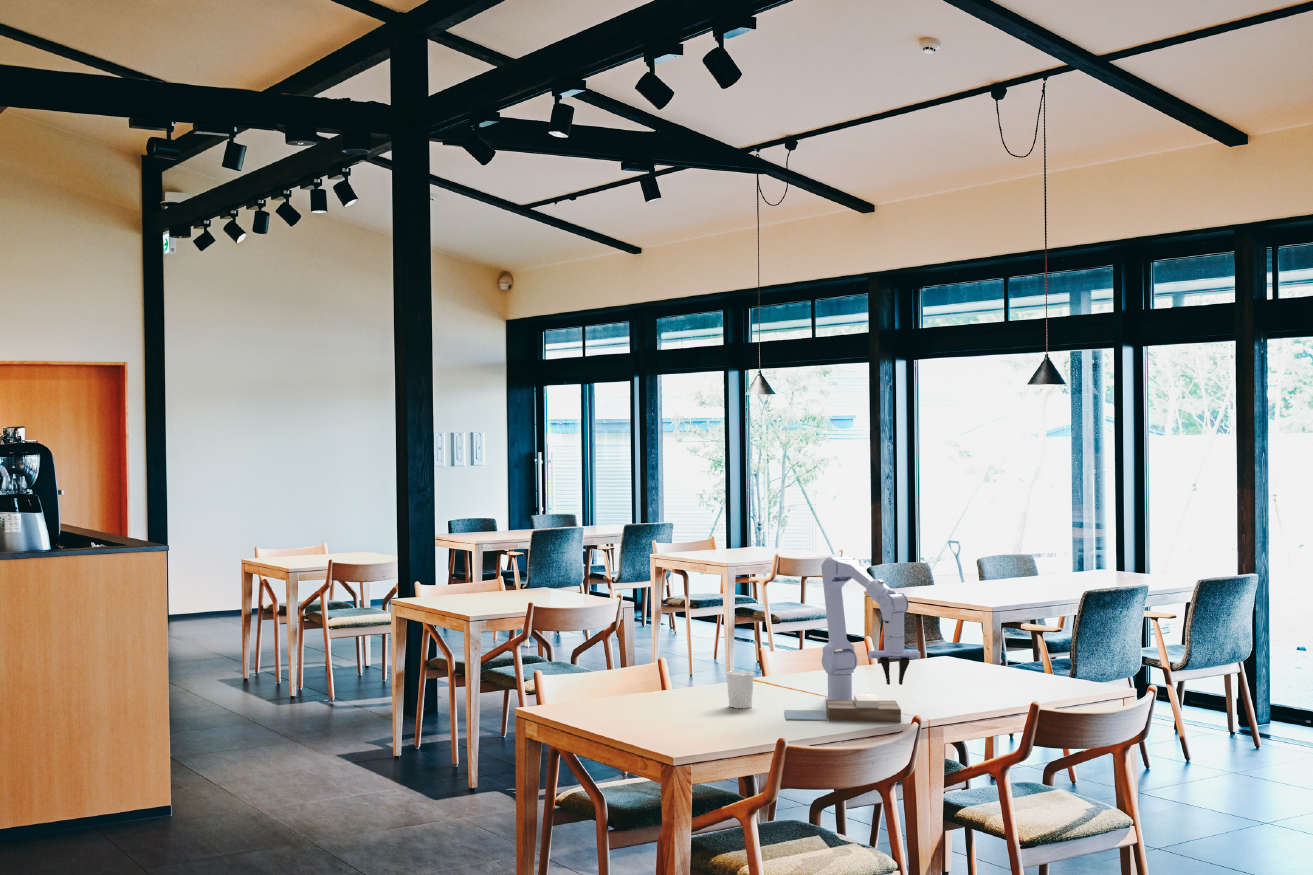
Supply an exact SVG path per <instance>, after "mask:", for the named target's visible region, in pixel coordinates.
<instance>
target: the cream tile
mask: <svg viewBox="0 0 1313 875" xmlns="http://www.w3.org/2000/svg"><path fill="white" fill-rule="evenodd" d="M853 700H854V702H855V704H856V706H857V708H879V701H880V700H879V698H878V697H877V695H876V694H869V693H867V694H863V693H862V694H860V693H859V694H858V693H857V694H856V693H854V695H853Z"/></svg>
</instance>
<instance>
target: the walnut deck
mask: <svg viewBox="0 0 1313 875" xmlns="http://www.w3.org/2000/svg"><path fill="white" fill-rule="evenodd" d="M878 701H879V708H857V706H856V704H855V702H854V699H853V700H826V699H825V714H826V717H827V721H828V722H872V723H873V722H874V723H875V722H877V723H878V722H883V723H885V722H887V723H890V722H891V723H895V722H896V723H897V722H898V723H902V709H901V707H900V706H899V704H898V702H897V701H896V700H878Z"/></svg>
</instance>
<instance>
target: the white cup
mask: <svg viewBox="0 0 1313 875" xmlns="http://www.w3.org/2000/svg"><path fill="white" fill-rule="evenodd" d="M726 680H727V697H728V705H729V706H730V707H729V706H728V707H729V708H731V707H734V708H733V709H738V708H740V709H739V710H741V708H743V710H744V709H750V708H752V703H753V701H752V700H753V690H754V672H753V671H748V670H732V671H731V670H730V671H727V672H726Z"/></svg>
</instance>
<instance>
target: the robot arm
mask: <svg viewBox="0 0 1313 875" xmlns="http://www.w3.org/2000/svg"><path fill="white" fill-rule="evenodd" d="M820 566H821V567H820V568H821V575H822V584H823V594H824V595H823V596H824V603H825V604H824V605H825V612H826V621H827V623H826V624H827V632H828V642H827V643H826V644H824V646H823V647H822V656H821V665H822V669H824V671H825V673H826V674H827V696H825V698H824V699H825V701H826V700H854V698H853V697H852V696H853V691H852V690H853V687H852V686H853V685H852V684H853V677H852V675H853V673H854V672H855V671H854V670H855V669H856V668H857V666H858V655H857V654H856V650H855V645H854V644H853V643H851V642H850V641H849V640H848V637H847V628H846V619H845V618H846V617H845V610H844V608H845V607H844V600H843V599H844V598H843V591H842V588H844V586H845V585H846V584H847V582H849V581H851V580H852V579H853V580H854V581H855V582H857V583H858V584H860V585H861V586H862V587H863V588H865V593H866V594H867V595H868V597H869V598H871V599H872V600H873V601H875V603H877V604H878V607H879V610H880V612H881V618H882V621H883V650H868V651H867V658H868V659H870V660H872V659H873V660H874V659H879V662H880V664H881V667H882V669H883V672H884V676H885V680H886V685H891V676H890V664H891V663H890V659H895V660H896V659H898V668H899V670H898V671H899V672H898V673H899V674H898V684H899V686H902V685H903V682H904V678H905V674H906V671H907V668H908V666H909V665H910V659H911V660H914V659H915V660H921V651H916V650H915V651H914V650H913V651H912V650H905V613H906V612H908V609H909V600H908V598H907V596H906V595H905V594H904V593H903V592H897V591H896V592H895V590H894V589H893V588H891V587H890V586H888V585H887V584H886V583H885V581H884V580H883V579H879V578H875V579H874V578H873V577H872V576H871V575H870V574H869V573H868V572H867V571H866V569H864V568H863V567H862V566H861V562H860V560H858V559H857V558H856V557H855V556H853V555H849V556H839V557H836V556H835V557H832V556H831V557H830V556H828V557H826V558H825V559H824V561H823V562H822V564H820Z"/></svg>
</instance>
